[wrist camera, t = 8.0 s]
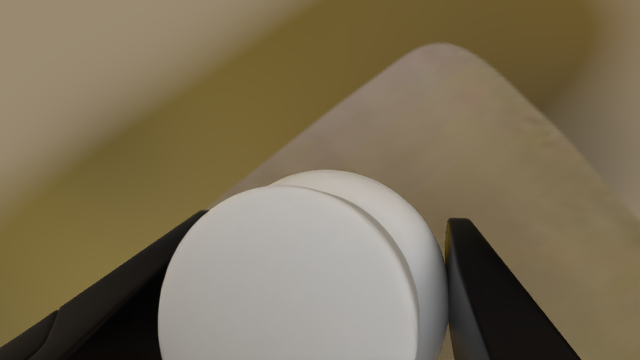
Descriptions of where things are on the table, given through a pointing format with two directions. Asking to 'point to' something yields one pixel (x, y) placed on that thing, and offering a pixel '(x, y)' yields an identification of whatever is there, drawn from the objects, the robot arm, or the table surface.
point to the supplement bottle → (306, 276)
